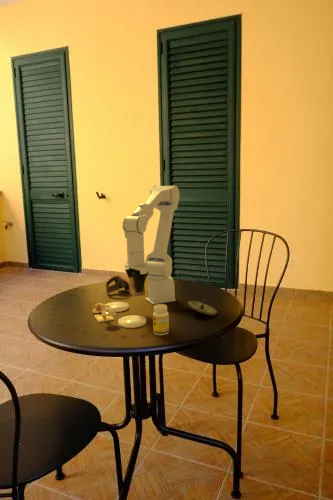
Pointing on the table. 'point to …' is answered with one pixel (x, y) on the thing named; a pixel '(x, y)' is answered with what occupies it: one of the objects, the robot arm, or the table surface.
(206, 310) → the lid
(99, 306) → the balance
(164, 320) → the supplement bottle
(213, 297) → the table surface
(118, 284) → the brown segmented ring
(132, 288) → the block
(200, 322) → the table surface
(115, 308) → the dish low side
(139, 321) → the cream round disc
